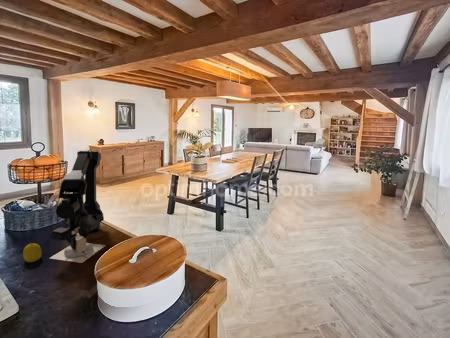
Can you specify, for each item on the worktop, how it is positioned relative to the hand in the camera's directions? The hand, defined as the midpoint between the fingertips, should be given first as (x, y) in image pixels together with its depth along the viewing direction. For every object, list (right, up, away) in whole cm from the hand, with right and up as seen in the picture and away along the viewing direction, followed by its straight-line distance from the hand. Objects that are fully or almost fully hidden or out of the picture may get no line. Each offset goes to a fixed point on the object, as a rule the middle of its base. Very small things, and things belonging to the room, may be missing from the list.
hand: (78, 246), depth 102 cm
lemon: (-14, -5, -6) cm, 16 cm away
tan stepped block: (0, -2, 0) cm, 2 cm away
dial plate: (0, -4, +1) cm, 4 cm away
